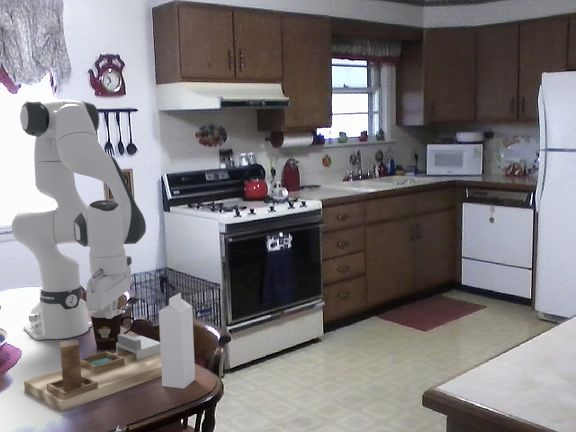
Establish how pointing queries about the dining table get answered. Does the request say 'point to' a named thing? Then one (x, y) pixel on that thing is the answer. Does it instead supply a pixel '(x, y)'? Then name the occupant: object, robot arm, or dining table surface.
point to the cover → (138, 345)
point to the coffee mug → (107, 329)
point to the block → (70, 365)
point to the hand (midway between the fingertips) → (111, 316)
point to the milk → (177, 343)
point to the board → (95, 378)
